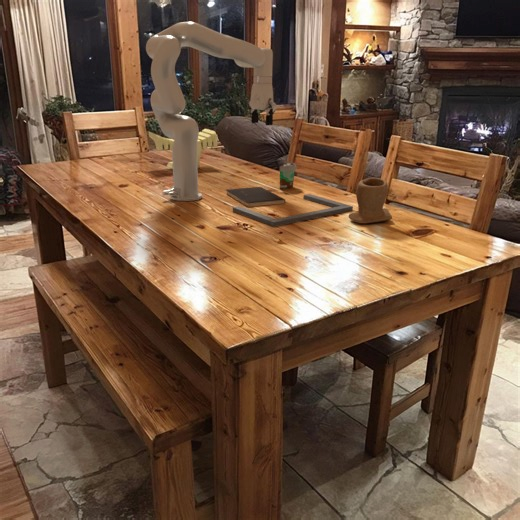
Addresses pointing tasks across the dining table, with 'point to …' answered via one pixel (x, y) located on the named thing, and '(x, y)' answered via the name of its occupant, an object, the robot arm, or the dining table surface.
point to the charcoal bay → (300, 217)
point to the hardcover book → (255, 196)
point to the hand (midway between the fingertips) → (261, 123)
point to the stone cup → (371, 201)
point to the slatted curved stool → (204, 140)
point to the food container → (287, 175)
